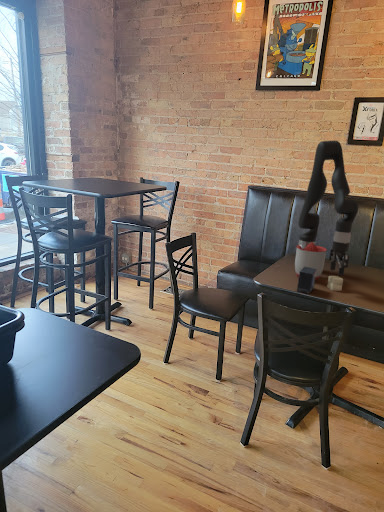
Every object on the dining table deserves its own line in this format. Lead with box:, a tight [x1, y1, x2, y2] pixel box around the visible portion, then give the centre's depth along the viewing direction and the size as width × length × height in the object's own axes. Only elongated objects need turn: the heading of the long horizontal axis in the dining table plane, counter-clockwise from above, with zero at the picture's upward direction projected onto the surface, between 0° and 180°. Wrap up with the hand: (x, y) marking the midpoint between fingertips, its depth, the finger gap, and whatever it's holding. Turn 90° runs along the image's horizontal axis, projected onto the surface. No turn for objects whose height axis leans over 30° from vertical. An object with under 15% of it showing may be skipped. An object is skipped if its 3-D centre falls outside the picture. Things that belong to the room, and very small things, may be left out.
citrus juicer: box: [294, 242, 327, 281], centre depth 195 cm, size 16×17×20 cm
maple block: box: [326, 275, 344, 292], centre depth 180 cm, size 5×5×6 cm
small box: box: [296, 267, 317, 295], centre depth 176 cm, size 11×6×10 cm, turn 150°
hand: (336, 272), depth 178 cm, fingers open, 8 cm apart
